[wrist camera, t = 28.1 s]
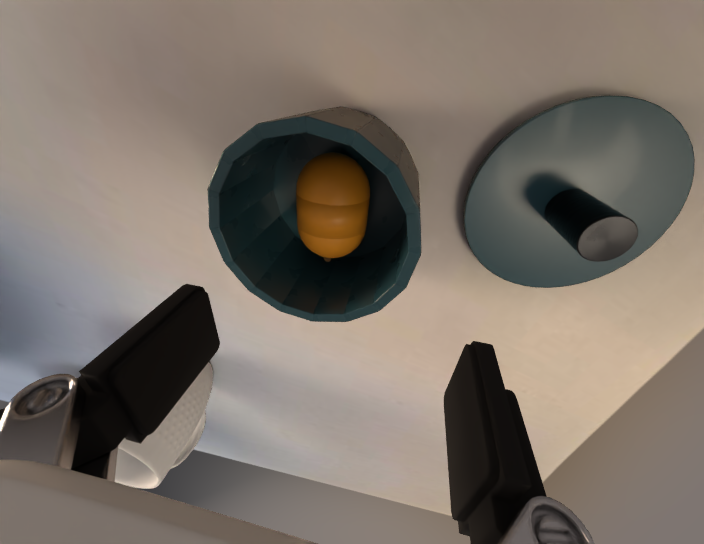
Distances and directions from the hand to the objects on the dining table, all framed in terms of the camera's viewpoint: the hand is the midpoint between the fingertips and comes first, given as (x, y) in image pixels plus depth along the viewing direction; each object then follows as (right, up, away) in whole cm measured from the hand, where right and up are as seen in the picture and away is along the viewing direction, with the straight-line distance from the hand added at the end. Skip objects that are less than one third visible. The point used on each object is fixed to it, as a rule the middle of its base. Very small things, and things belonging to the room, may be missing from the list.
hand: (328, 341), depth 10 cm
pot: (0, +9, +13) cm, 16 cm away
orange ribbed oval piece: (0, +9, +13) cm, 15 cm away
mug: (-22, -11, +31) cm, 39 cm away
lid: (+16, +7, +10) cm, 20 cm away
